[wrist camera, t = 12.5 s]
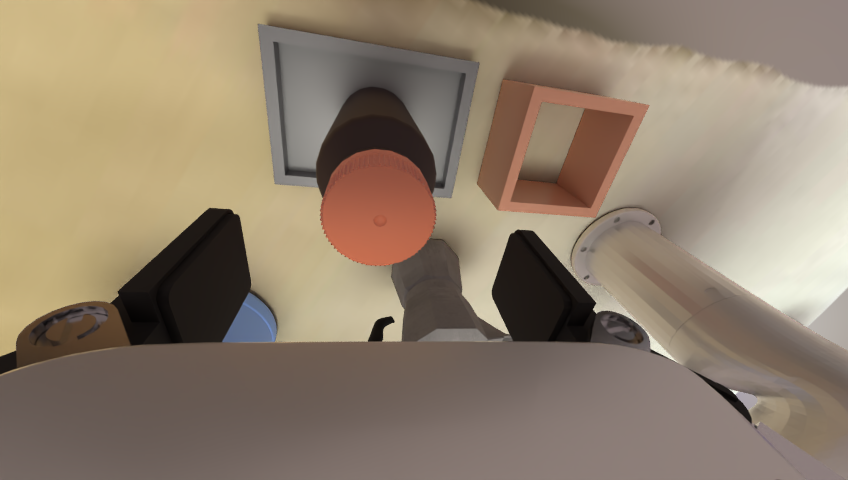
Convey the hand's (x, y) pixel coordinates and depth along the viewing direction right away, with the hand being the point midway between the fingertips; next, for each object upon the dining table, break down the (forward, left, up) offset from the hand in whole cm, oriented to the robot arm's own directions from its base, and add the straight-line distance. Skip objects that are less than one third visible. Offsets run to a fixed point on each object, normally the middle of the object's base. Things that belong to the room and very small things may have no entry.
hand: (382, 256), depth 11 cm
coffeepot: (-7, +18, -24) cm, 30 cm away
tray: (0, 0, -24) cm, 24 cm away
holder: (-18, 0, -24) cm, 29 cm away
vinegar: (0, 0, -23) cm, 23 cm away
